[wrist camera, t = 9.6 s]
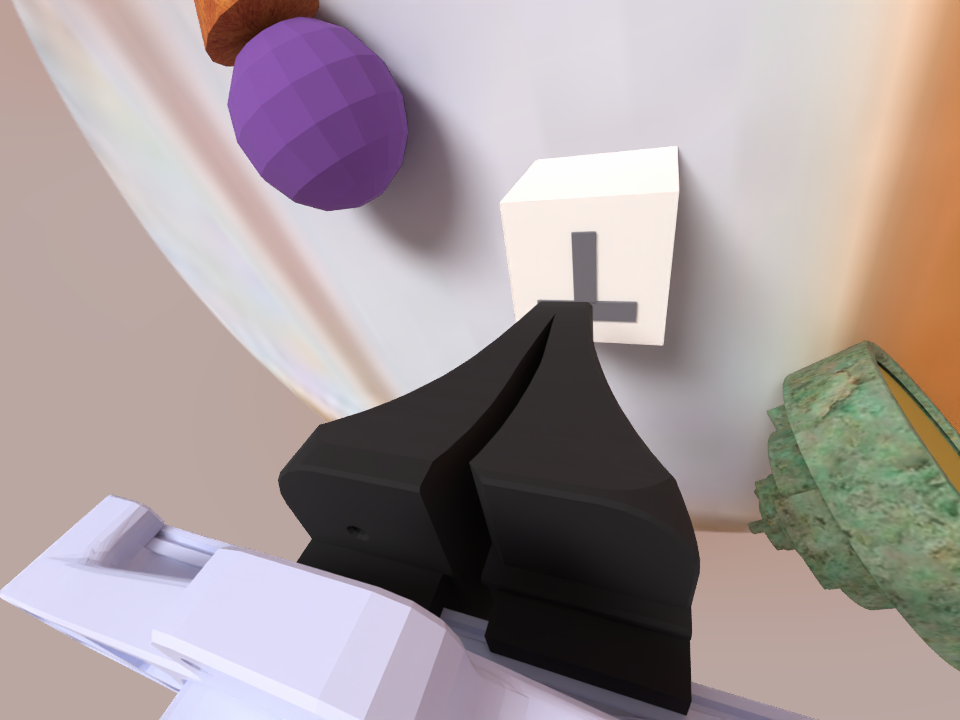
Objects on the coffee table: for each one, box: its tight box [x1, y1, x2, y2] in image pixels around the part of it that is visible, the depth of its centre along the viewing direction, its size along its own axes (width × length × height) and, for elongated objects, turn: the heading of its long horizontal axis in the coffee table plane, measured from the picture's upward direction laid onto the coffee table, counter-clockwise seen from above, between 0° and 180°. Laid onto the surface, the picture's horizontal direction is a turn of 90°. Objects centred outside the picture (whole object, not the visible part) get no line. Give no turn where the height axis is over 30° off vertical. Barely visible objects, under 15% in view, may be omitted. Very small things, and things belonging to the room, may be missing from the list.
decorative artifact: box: [748, 341, 960, 671], centre depth 16 cm, size 10×7×10 cm
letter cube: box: [500, 146, 679, 346], centre depth 15 cm, size 5×5×5 cm
